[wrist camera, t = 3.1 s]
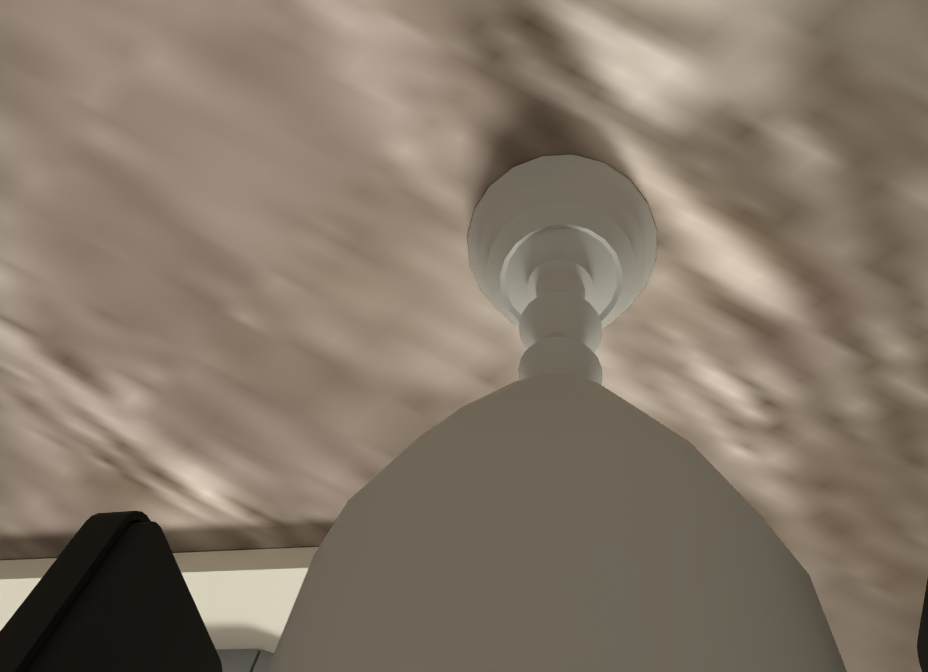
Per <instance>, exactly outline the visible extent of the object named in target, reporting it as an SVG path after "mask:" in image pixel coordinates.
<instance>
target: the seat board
mask: <svg viewBox="0 0 928 672" xmlns="http://www.w3.org/2000/svg"><path fill="white" fill-rule="evenodd" d="M318 548H319V547H303V548H280V549H256V550H233V551H210V552H186V553H173V555H174V558H175V560H176V562H177V564H178V566H179V569H180V571H181V573H182V575H183V578H184V580H185V582H186V584H187V586H188V589H189V591H190V593H191V595H192V598H193V600H194V602H195V604H196V606H197V609H198V611H199V613H200V615H201V618H202V620H203V622H204V624H205V626H206V629H207V631H208V633H209V635H210V638H211V640H212V642H213V644H214V646H215V649H216V651H217V653H218V655H219V657H220V660H221V663H222V671H223V672H267V669H268V667H269V664H270V662H271V659H272V657H273V655H274V652H275V650H276V647H277V645H278V642H279V640H280V637H281V635H282V632H283V630H284V627H285V625H286V623H287V620H288V618H289V615H290V613H291V610H292V608H293V605H294V603H295V600H296V598H297V595H298V593H299V590H300V588H301V586H302V583H303V581H304V578H305V576H306V573H307V571H308V568H309V566H310V563H311V561H312V558H313V556H314V554H315V553H316V551H317V550H318ZM56 559H57V558H46V559H23V560H0V631H1V630H2V628H3V627H4V626H5V625H6V623H7V622H8V621H9V619H10V618H11V617H12V616H13V614H14V613H15V612H16V610H17V609H18V608H19V607H20V605H21V604H22V603H23V601H24V600H25V599H26V598H27V596H28V595H29V594H30V592H31V591H32V590H33V589H34V587H35V586H36V585H37V583H38V582H39V581H40V580H41V578H42V577H43V576H44V574H45V573H46V572H47V571H48V569H49V568H50V567H51V565H52V564H53V563H54V562H55V560H56Z"/></svg>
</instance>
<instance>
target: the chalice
mask: <svg viewBox="0 0 928 672" xmlns="http://www.w3.org/2000/svg"><path fill="white" fill-rule="evenodd" d="M467 241H468V252H469V263H470V267H471V270H472V272H473V274H474V276H475V279H476V281H477V283H478V285H479V288H480V290H481V291H482V292H483V294H484V295H485V296H486V297H487V298H488V299H489V300H490V301H491V303H492V304H493V305H494V306H495V307H496V308H497V309H498V310H499V311H500V312H501V313H502V314H503V315H504V316H505V317H506V318H507V319H508V320H509V321H510V322H511V323H513V324H514V325H516V326H517V327H519V331H520V338H521V340H522V342H523V344H524V347H525V348H526V349H527V350H526V352H525V353H524V355H523V356H522V357H521V361H520V364H519V368H518V372H519V381H516V382H514V383H512V384H509V385H507V386H505V387H503V388H501V389H499V390H497V391H495V392H493V393H491V394H489V395H487V396H485V397H483V398H480V399H478V400H476V401H474V402H472V403H470V404H468V405H466V406H464V407H462V408H461V409H459V410H458V411H456V412H455V413H453V414H452V415H450V416H449V417H448V418H446V419H445V420H443V421H442V422H440V423H439V424H437V425H436V426H435V427H433V428H432V429H430V430H429V431H427V432H426V433H424V434H423V435H422V436H420V437H419V438H418V439H417V440H415V441H414V442H413V443H412V444H411V445H410V446H409V447H408V448H407V449H405V450H404V451H403V452H402V453H401V454H400V455H399V456H398V457H397V458H395V459H394V460H393V461H392V462H391V463H390V464H389V465H388V466H387V467H385V468H384V469H383V470H382V471H381V472H380V473H379V474H378V475H377V476H375V477H374V478H373V479H372V480H371V481H370V482H369V483H368V484H367V485H365V486H364V487H363V488H362V489H361V490H360V491H359V492H358V493H357V494H355V495H354V496H353V497H352V498H351V499H350V500H349V501H348V502H347V504H346V505H345V507H344V508H343V510H342V511H341V513H340V515H339V516H338V518H337V519H336V521H335V523H334V524H333V526H332V527H331V529H330V531H329V532H328V534H327V535H326V537H325V538H324V540H323V542H322V543H321V545H320V546H319V548H318V550H317V551H316V553H315V554H314V556H313V558H312V561H311V563H310V566H309V568H308V571H307V573H306V576H305V578H304V581H303V583H302V586H301V588H300V590H299V593H298V595H297V598H296V600H295V603H294V605H293V608H292V610H291V613H290V615H289V618H288V620H287V623H286V625H285V627H284V630H283V632H282V635H281V637H280V640H279V642H278V645H277V647H276V650H275V652H274V655H273V657H272V659H271V662H270V664H269V667H268V669H267V672H847V671H846V668H845V666H844V663H843V660H842V658H841V655H840V653H839V650H838V648H837V645H836V642H835V640H834V637H833V635H832V632H831V630H830V627H829V625H828V622H827V619H826V617H825V614H824V612H823V609H822V607H821V604H820V601H819V599H818V596H817V594H816V591H815V589H814V586H813V584H812V581H811V578H810V576H809V574H808V573H807V572H806V570H805V569H804V568H803V567H802V565H801V564H800V563H799V562H798V560H797V559H796V558H795V557H794V556H793V554H792V553H791V552H790V551H789V549H788V548H787V547H786V546H785V544H784V543H783V542H782V541H781V540H780V538H779V537H778V536H777V535H776V533H775V532H774V531H773V530H772V529H771V527H770V526H769V525H768V524H767V522H766V521H765V520H764V519H763V517H762V516H761V515H760V514H759V513H758V512H757V511H756V510H755V509H754V508H753V507H752V506H751V505H750V504H749V503H748V502H747V500H746V499H745V498H744V497H743V496H742V495H741V494H740V493H739V492H738V491H737V490H736V489H735V488H734V487H733V486H732V485H731V484H730V483H729V482H728V481H727V480H726V479H725V478H724V477H723V476H722V475H721V474H720V473H719V472H718V471H717V470H716V468H715V467H714V466H713V465H712V464H711V463H710V462H709V461H708V460H707V459H706V458H705V457H704V456H703V455H702V454H701V453H700V452H699V451H698V450H697V449H696V448H695V447H694V446H693V445H692V444H691V443H690V442H689V441H687V440H686V439H684V438H683V437H681V436H679V435H678V434H676V433H675V432H673V431H672V430H670V429H669V428H667V427H666V426H664V425H662V424H661V423H659V422H658V421H656V420H655V419H653V418H652V417H650V416H649V415H647V414H646V413H644V412H642V411H641V410H639V409H638V408H636V407H635V406H633V405H631V404H630V403H628V402H627V401H625V400H624V399H622V398H620V397H619V396H617V395H616V394H614V393H613V392H611V391H609V390H608V389H606V388H605V387H603V386H602V385H601V383H602V367H601V365H600V362H599V360H598V358H597V356H596V355H595V354H594V352H595V351H596V349H597V348H598V347H599V344H600V341H601V338H602V328H603V327H605V326H606V325H608V324H609V323H611V322H612V321H614V320H615V319H616V318H617V316H619V315H620V314H621V313H622V312H623V311H624V310H626V309H627V308H628V307H629V306H630V305H631V304H632V302H633V301H634V300H635V299H636V297H637V296H638V295H639V294H640V293H641V291H642V290H643V289H644V288H645V286H646V284H647V282H648V279H649V276H650V274H651V271H652V269H653V266H654V263H655V261H656V241H657V230H656V227H655V224H654V221H653V218H652V215H651V212H650V209H649V205H648V203H647V202H646V200H645V199H644V198H643V196H642V195H641V194H640V193H639V191H638V190H637V189H636V187H635V186H634V185H633V183H632V182H631V181H630V180H629V179H628V178H626V177H625V176H623V175H622V174H620V173H619V172H617V171H616V170H614V169H613V168H611V167H610V166H608V165H607V164H605V163H603V162H600V161H596V160H592V159H588V158H585V157H581V156H577V155H555V156H541V157H539V158H536V159H533V160H531V161H528V162H526V163H523V164H520V165H518V166H515V167H513V168H512V169H510V170H509V171H508V172H507V173H505V174H504V175H503V176H502V177H500V178H499V179H498V180H497V181H495V182H494V183H493V184H492V185H490V186H489V188H488V190H487V191H486V193H485V194H484V196H483V197H482V199H481V200H480V202H479V204H478V205H477V207H476V208H475V210H474V212H473V217H472V221H471V225H470V229H469V233H468V237H467Z"/></svg>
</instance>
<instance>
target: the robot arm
mask: <svg viewBox="0 0 928 672" xmlns="http://www.w3.org/2000/svg"><path fill="white" fill-rule="evenodd" d="M917 650H918V658H919V663H920V666H921V669H922V672H928V580H927V586H926V592H925V598H924V604H923V610H922V616H921V622H920V628H919V635H918V641H917ZM0 672H223V671H222V663H221V660H220V657H219V655H218V653H217V651H216V649H215V646H214V644H213V642H212V640H211V638H210V635H209V633H208V631H207V629H206V626H205V624H204V622H203V620H202V618H201V615H200V613H199V611H198V609H197V606H196V604H195V602H194V600H193V598H192V595H191V593H190V591H189V589H188V586H187V584H186V582H185V580H184V578H183V575H182V573H181V571H180V569H179V566H178V564H177V562H176V560H175V558H174V555H173V553H172V551H171V549H170V547H169V544H168V542H167V540H166V538H165V535H164V533H163V531H162V529H161V527H160V526H159V525H158V524H157V523H156V522H151V521H150V520H149V518H148V516H147V515H145V514H144V513H143V512H140V511H128V512H111V513H98V514H95V515H93V516H91V517H90V518H89V519H88V520H87V521H86V522H85V523H84V524H83V526H82V527H81V528H80V530H79V531H78V532H77V533H76V535H75V536H74V537H73V539H72V540H71V541H70V542H69V544H68V545H67V546H66V548H65V549H64V550H63V551H62V553H61V554H60V555H59V557H58V558H57V559H56V560H55V562H54V563H53V564H52V565H51V567H50V568H49V569H48V571H47V572H46V573H45V574H44V576H43V577H42V578H41V580H40V581H39V582H38V583H37V585H36V586H35V587H34V589H33V590H32V591H31V592H30V594H29V595H28V596H27V598H26V599H25V600H24V601H23V603H22V604H21V605H20V607H19V608H18V609H17V610H16V612H15V613H14V614H13V616H12V617H11V618H10V619H9V621H8V622H7V623H6V625H5V626H4V627H3V628H2V630H1V631H0Z"/></svg>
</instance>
